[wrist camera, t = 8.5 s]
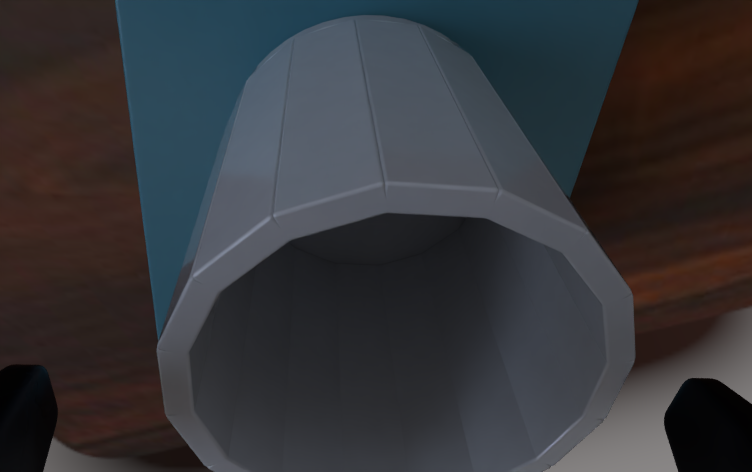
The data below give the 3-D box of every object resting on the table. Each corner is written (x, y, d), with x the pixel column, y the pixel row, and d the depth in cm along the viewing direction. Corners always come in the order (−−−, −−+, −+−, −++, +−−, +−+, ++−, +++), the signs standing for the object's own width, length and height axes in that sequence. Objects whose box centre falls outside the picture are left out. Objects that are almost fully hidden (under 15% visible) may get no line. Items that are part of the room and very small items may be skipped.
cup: (472, 269, 16) (557, 515, 10) (231, 258, 15) (178, 519, 9) (534, 29, 12) (718, 202, 7) (223, -2, 12) (131, 166, 6)
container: (469, 283, 23) (503, 389, 19) (194, 271, 22) (162, 383, 18) (581, -142, 15) (686, -130, 11) (159, -202, 14) (85, -215, 10)
